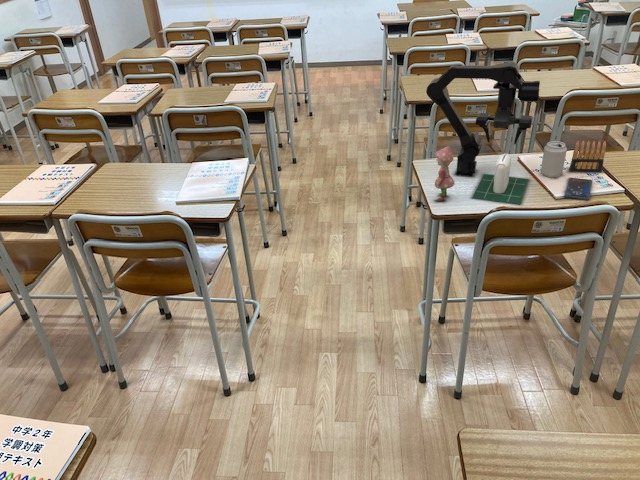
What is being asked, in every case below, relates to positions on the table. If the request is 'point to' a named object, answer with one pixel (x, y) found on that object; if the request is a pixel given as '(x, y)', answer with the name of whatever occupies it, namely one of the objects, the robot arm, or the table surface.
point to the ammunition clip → (588, 158)
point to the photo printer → (502, 173)
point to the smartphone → (578, 188)
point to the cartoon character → (444, 171)
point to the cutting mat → (510, 195)
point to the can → (553, 159)
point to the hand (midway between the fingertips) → (501, 142)
